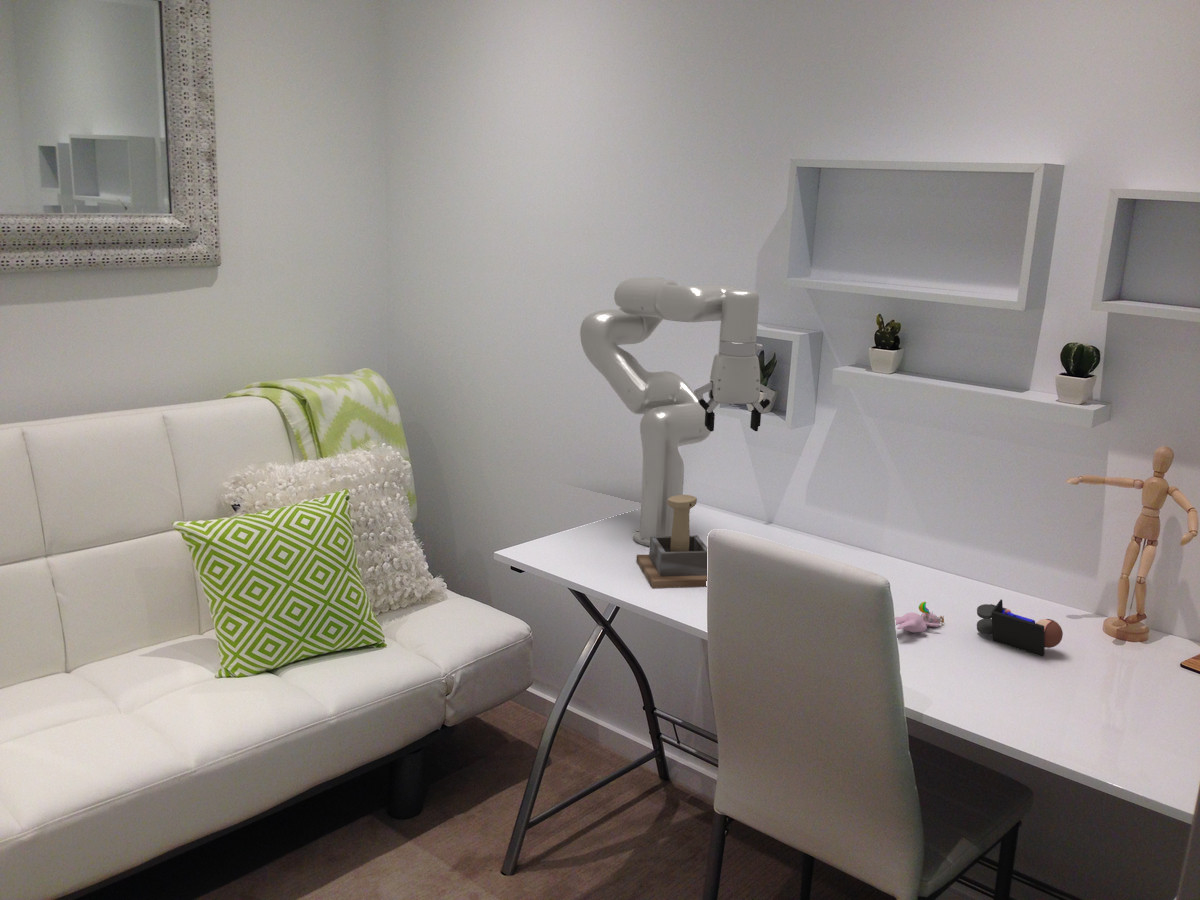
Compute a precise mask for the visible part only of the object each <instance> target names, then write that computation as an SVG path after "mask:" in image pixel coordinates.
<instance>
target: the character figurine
mask: <svg viewBox="0 0 1200 900" xmlns="http://www.w3.org/2000/svg"><path fill="white" fill-rule="evenodd" d="M976 613H977V616H978V618H981V619H979V620H978V621H977V622H976V630H977V631H978V633H980V634H982V635H986V636H990V635H992V642H996V643H999V644H1002V645H1005V646H1008V647H1011V648H1014V649H1017V650H1020V651H1023V652H1027V653H1029V654H1033V655H1036V656H1040V657H1043V658H1044V657H1045V653H1046V652H1045V648H1046V649H1047V648H1048V649H1050V648H1054V647H1057V646H1058V645H1059V644H1060V643H1061V641H1062V640H1063V635H1064V633H1063V628H1062V627H1061V625H1060V624H1059V623H1058V622H1057V621H1055V620H1053V619H1050V618H1043V619H1040V620H1038V621H1037V622H1036V621H1035V620H1034V619H1032V618H1028V617H1025V616H1022V615H1019V614H1015V613H1013V612H1012V611H1011V609H1009V608H1007V607H1006V608H1005V607H1003V599H999V601H998V603H997V604H996V605H995V604H992V603H991V604H988V603H985V604H980V605H979V606H977V608H976Z"/></svg>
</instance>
